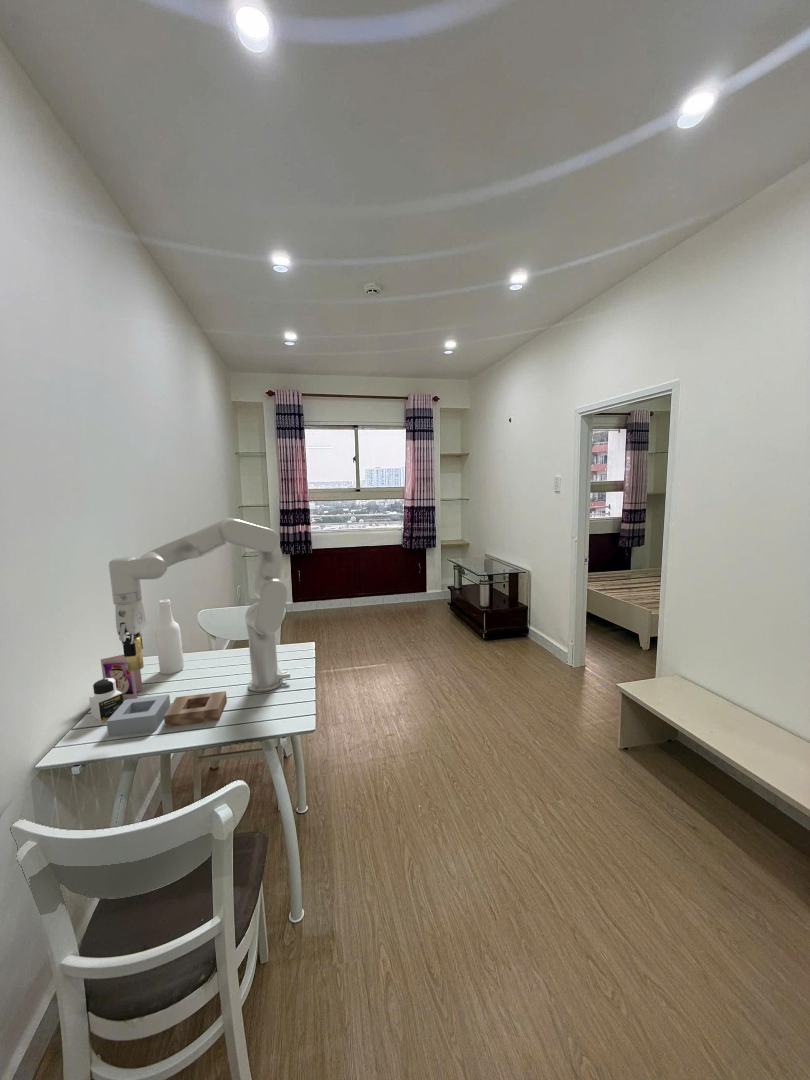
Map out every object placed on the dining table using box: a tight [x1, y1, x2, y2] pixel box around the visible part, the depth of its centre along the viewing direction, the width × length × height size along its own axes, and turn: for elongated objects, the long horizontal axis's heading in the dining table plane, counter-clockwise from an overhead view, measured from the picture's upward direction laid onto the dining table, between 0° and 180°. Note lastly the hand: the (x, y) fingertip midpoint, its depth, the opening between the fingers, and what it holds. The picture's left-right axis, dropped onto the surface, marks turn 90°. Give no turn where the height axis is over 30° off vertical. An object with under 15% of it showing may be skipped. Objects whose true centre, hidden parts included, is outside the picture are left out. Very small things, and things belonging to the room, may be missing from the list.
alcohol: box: [155, 598, 185, 675], centre depth 172 cm, size 9×9×30 cm
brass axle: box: [126, 636, 145, 671], centre depth 133 cm, size 4×4×10 cm
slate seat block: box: [105, 693, 171, 737], centre depth 135 cm, size 13×13×5 cm
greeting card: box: [100, 654, 143, 699], centre depth 153 cm, size 11×7×15 cm, turn 90°
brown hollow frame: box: [163, 690, 228, 728], centre depth 139 cm, size 16×12×4 cm
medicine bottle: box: [88, 678, 124, 722], centre depth 140 cm, size 7×7×12 cm
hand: (133, 652), depth 133 cm, fingers closed on brass axle, 4 cm apart
